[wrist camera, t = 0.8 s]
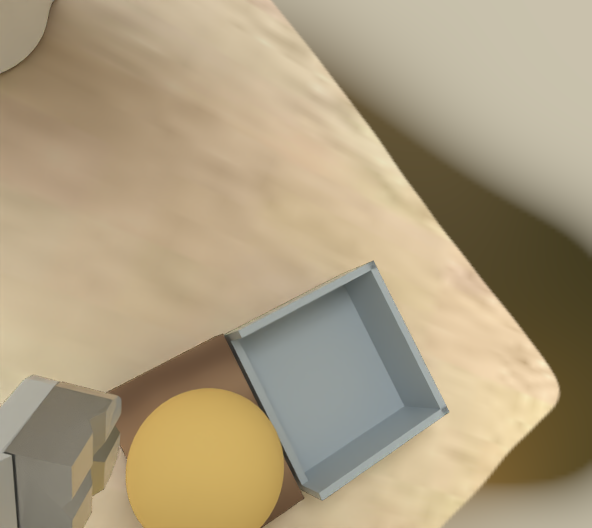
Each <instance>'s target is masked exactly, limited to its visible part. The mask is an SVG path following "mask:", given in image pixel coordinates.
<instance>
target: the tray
mask: <svg viewBox="0 0 592 528" xmlns="http://www.w3.org/2000/svg"><path fill="white" fill-rule="evenodd" d="M224 337H225V339H226V341H227V343H228V345H229V347H230V349H231V351H232V353H233V355H234V357H235V359H236V361H237V363H238V365H239V367H240V369H241V371H242V373H243V375H244V377H245V379H246V381H247V384H248V386H249V388H250V390H251V392H252V394H253V396H254V398H255V400H256V402H257V404H258V406H259V408H260V409H261V410H262V411H263V412H264V413H265V415H266V416H267V417H268V419H269V420H270V421H271V423H272V424H273V426H274V428H275V430H276V432H277V434H278V437H279V439H280V442H281V446H282V450H283V456H284V458H285V460H286V462H287V464H288V466H289V468H290V470H291V472H292V475H293V477H294V479H295V481H296V483H297V485H298V487H299V489H300V490H302V491H304V492H306V493H308V494H310V495H312V496H314V497H316V498H318V499H320V500H322V501H323V500H324V499H325V498H327V497H328V496H330V495H331V494H333V493H334V492H336V491H337V490H338V489H340V488H341V487H343V486H344V485H346V484H347V483H348V482H350V481H351V480H353V479H354V478H356V477H357V476H358V475H360V474H361V473H363V472H364V471H366V470H367V469H368V468H370V467H371V466H373V465H374V464H376V463H377V462H378V461H380V460H381V459H383V458H384V457H386V456H387V455H388V454H390V453H391V452H393V451H394V450H396V449H397V448H398V447H400V446H401V445H403V444H404V443H406V442H407V441H408V440H410V439H411V438H413V437H414V436H416V435H417V434H418V433H420V432H421V431H423V430H424V429H426V428H427V427H429V426H430V425H431V424H433V423H434V422H436V421H437V420H439V419H440V418H441V417H443V416H444V415H446V414H447V413H449V410H448V408H447V406H446V404H445V402H444V400H443V398H442V396H441V394H440V392H439V390H438V388H437V386H436V384H435V382H434V380H433V378H432V376H431V374H430V372H429V370H428V368H427V366H426V364H425V362H424V360H423V358H422V356H421V354H420V352H419V350H418V348H417V346H416V344H415V342H414V340H413V338H412V336H411V335H410V333H409V331H408V329H407V327H406V325H405V323H404V321H403V319H402V317H401V315H400V313H399V311H398V309H397V307H396V305H395V303H394V301H393V299H392V297H391V295H390V293H389V291H388V289H387V287H386V285H385V283H384V281H383V279H382V277H381V275H380V273H379V271H378V269H377V267H376V265H375V263H374V261H371V262H369V263H366V264H364V265H362V266H359V267H357V268H355V269H352V270H350V271H347V272H345V273H343V274H341V275H339V276H337V277H335V278H333V279H331V280H329V281H327V282H325V283H323V284H321V285H319V286H317V287H316V288H314V289H312V290H310V291H308V292H306V293H304V294H302V295H300V296H298V297H296V298H294V299H292V300H290V301H288V302H286V303H285V304H283V305H281V306H279V307H277V308H275V309H273V310H271V311H269V312H267V313H265V314H263V315H261V316H259V317H257V318H255V319H254V320H252V321H250V322H248V323H246V324H244V325H242V326H240V327H238V328H236V329H234V330H232V331H230V332H228V333H226V334H224Z"/></svg>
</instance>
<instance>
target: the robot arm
mask: <svg viewBox="0 0 592 528" xmlns="http://www.w3.org/2000/svg"><path fill="white" fill-rule="evenodd" d="M53 1H54V0H0V73H2V72H4V71H6V70H8V69H10V68H12V67H14V66H15V65H17V64H18V63H20V62H21V61H22V60H24V59H25V58H26V57H27V56H28V55H29V54H30V53H31V52H32V51H33V50H34V48H35V47H36V46H37V44H38V43H39V41H40V39H41V37H42V35H43V33H44V31H45V28H46V24H47V20H48V15H49V10H50V7H51V5H52V2H53ZM120 415H121V398H120V397H119V396H117V395H113V394H109V393H105V392H101V391H97V390H94V389H90V388H86V387H82V386H78V385H74V384H70V383H66V382H59V381H55V380H52V379H48V378H44V377H40V376H36V375H31V376H30V377H28V378H26V379H24V380H23V381H22V382H21V383H20V385H19V386H18V387H17V388H16V389H15V390H14V391H13V393H12V394H11V395H10V396H9V397H8V398H7V400H6V401H5V402H4V403H3V404H2V405H1V406H0V528H84V526H85V524H86V522H87V520H88V518H89V517H90V515H91V513H92V496H94V495H95V494H97V493H99V492H100V491H102V490H104V488H105V486H106V484H107V482H108V480H109V478H110V476H111V473H112V471H113V468H114V465H115V462H116V459H117V456H118V450H119V445H120V432H119V431H118V429H117V428H116V426H115V424H116V422H117V420H118V419H119V417H120Z"/></svg>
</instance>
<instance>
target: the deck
mask: <svg viewBox="0 0 592 528" xmlns="http://www.w3.org/2000/svg"><path fill="white" fill-rule="evenodd" d="M201 388H216V389H223V390H227V391H231V392H234V393H236V394H239V395H241V396H243V397H245V398H247V399H248V400H250V401H251V402H253V403H254V404H255V405H257V406H258V404H257V402H256V400H255V398H254V396H253V394H252V392H251V390H250V388H249V386H248V384H247V381H246V379H245V377H244V375H243V373H242V371H241V369H240V367H239V365H238V363H237V361H236V359H235V357H234V355H233V353H232V351H231V349H230V347H229V345H228V343H227V341H226V339H225V337H224V335H223V334H221V335H218V336H215V337H213V338H211V339H209V340H207V341H205V342H204V343H202V344H200V345H198V346H196V347H194V348H192V349H190V350H188V351H186V352H184V353H182V354H180V355H178V356H176V357H174V358H172V359H170V360H168V361H167V362H165V363H163V364H161V365H159V366H157V367H155V368H153V369H151V370H149V371H147V372H145V373H143V374H141V375H139V376H137V377H135V378H133V379H132V380H130V381H128V382H126V383H124V384H122V385H120V386H118V387H116V388H114V389H112V390H110V391H108V392H106V393H109V394H113V395H117V396H119V397H120V398H121V415H120V417H119V419H118V420H117V422H116V424H115V426H116V428H117V429H118V431H119V432H120V446H121V448H122V450H123V452H124V454H125V456H126V458H128V454H129V450H130V447H131V444H132V442H133V439H134V437H135V435H136V433H137V431H138V430H139V428H140V426H141V425H142V424H143V422H144V421H145V420H146V418H147V417H148V416H149V415H150V414H151V413H152V412H153V411H154V410H155V409H156V408H157V407H159V406H160V405H161V404H162V403H164V402H166V401H167V400H169V399H170V398H172V397H174V396H177V395H179V394H181V393H184V392H187V391H191V390H196V389H201ZM258 407H259V406H258ZM283 457H284V456H283ZM303 499H304V497H303V495H302V493H301V491H300V489H299V487H298V485H297V483H296V481H295V479H294V477H293V475H292V472H291V470H290V468H289V466H288V464H287V462H286V460H285V458H284V476H283V483H282V488H281V492H280V495H279V498H278V501H277V503H276V505H275V507H274V509H273V511H272V513H271V514H270V516H269V517H268V519H267V520H266V521H265V523H264V524H263V525H262V526H261V527H260V528H262V527H263V526H265V525H266V524H268V523H269V522H271V521H272V520H274V519H275V518H276V517H278V516H279V515H281V514H282V513H284V512H285V511H287V510H288V509H290V508H291V507H292V506H294V505H295V504H297V503H298V502H300V501H301V500H303Z"/></svg>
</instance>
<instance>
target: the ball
mask: <svg viewBox="0 0 592 528" xmlns="http://www.w3.org/2000/svg"><path fill="white" fill-rule="evenodd" d="M283 476H284V457H283V450H282V446H281V442H280V439H279V437H278V434H277V432H276V430H275V428H274V426H273V424H272V423H271V421H270V420H269V419H268V417H267V416H266V415H265V413H264V412H263V411H262V410H261V409H260V408H259V407H258V406H257V405H255V404H254V403H253V402H251V401H250V400H248V399H247V398H245V397H243V396H241V395H239V394H236V393H234V392H231V391H227V390H223V389H216V388H201V389H196V390H191V391H187V392H184V393H181V394H179V395H177V396H174V397H172V398H170V399H169V400H167V401H166V402H164V403H162V404H161V405H160V406H159V407H157V408H156V409H155V410H154V411H153V412H152V413H151V414H150V415H149V416H148V417H147V418H146V420H145V421H144V422H143V424H142V425H141V426H140V428H139V430H138V431H137V433H136V435H135V437H134V439H133V442H132V444H131V447H130V450H129V454H128V458H127V464H126V488H127V494H128V498H129V502H130V504H131V507H132V509H133V512H134V514H135V515H136V517H137V519H138V521H139V522H140V523H141V525H142V526H143V527H144V528H260V527H261V526H262V525H263V524H264V523H265V521H266V520H267V519H268V517H269V516H270V514H271V513H272V511H273V509H274V507H275V505H276V503H277V501H278V498H279V495H280V492H281V488H282V483H283Z"/></svg>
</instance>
